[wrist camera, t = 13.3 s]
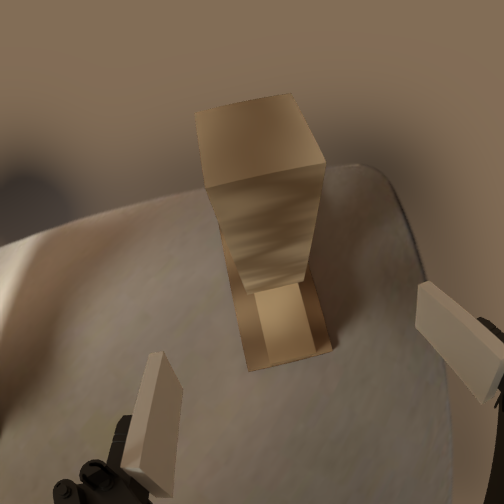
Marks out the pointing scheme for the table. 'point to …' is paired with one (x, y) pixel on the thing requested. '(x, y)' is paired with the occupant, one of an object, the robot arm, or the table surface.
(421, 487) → the table surface
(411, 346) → the table surface
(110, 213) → the table surface
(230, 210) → the block
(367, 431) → the table surface
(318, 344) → the ridge
